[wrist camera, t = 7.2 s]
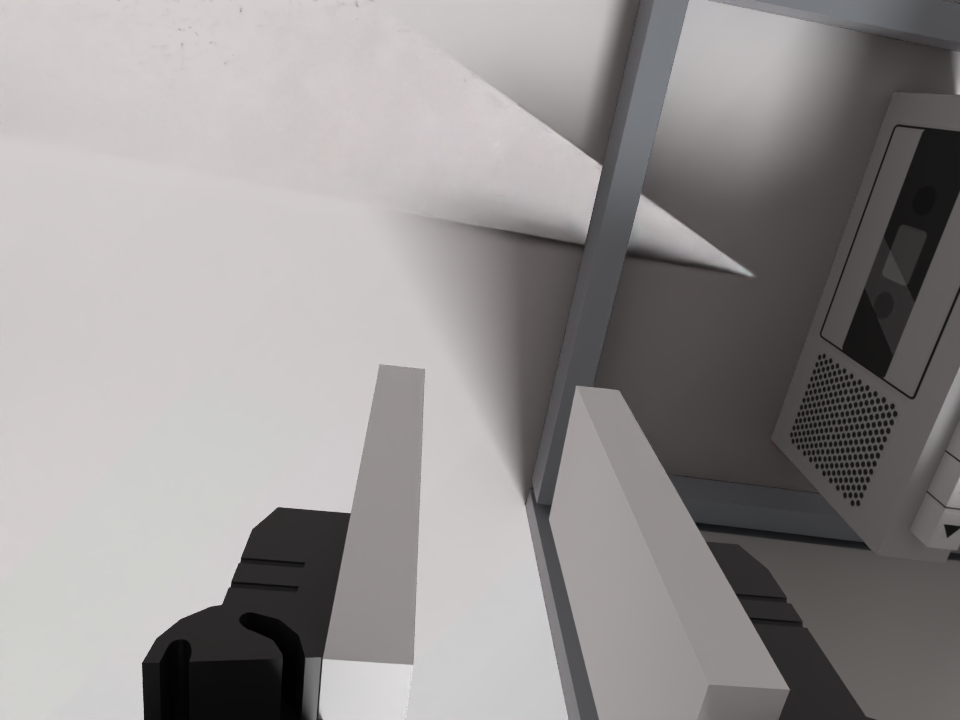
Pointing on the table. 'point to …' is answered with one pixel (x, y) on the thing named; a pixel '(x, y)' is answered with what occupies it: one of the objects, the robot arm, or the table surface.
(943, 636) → the equipment case
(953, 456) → the cassette player
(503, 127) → the table surface
